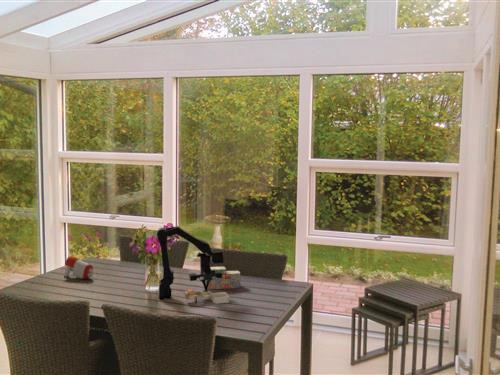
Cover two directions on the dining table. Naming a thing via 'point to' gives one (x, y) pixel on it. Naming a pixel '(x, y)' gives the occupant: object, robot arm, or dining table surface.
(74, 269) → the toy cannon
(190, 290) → the ball
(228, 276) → the stack of blocks
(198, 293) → the lever
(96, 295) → the dining table surface
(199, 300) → the fulcrum
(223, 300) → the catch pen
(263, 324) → the dining table surface
